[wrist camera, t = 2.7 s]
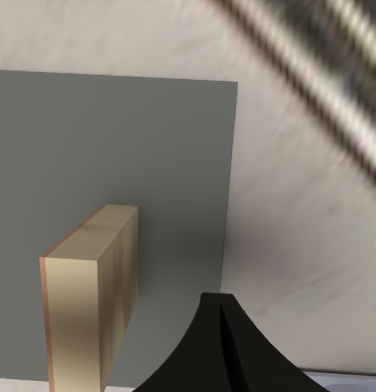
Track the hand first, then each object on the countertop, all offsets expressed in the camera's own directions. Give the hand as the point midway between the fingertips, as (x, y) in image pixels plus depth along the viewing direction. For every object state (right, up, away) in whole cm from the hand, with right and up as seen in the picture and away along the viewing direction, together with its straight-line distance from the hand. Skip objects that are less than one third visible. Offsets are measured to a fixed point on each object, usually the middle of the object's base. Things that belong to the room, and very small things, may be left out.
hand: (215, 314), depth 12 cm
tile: (-5, +2, +5) cm, 7 cm away
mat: (-7, +2, +6) cm, 9 cm away
